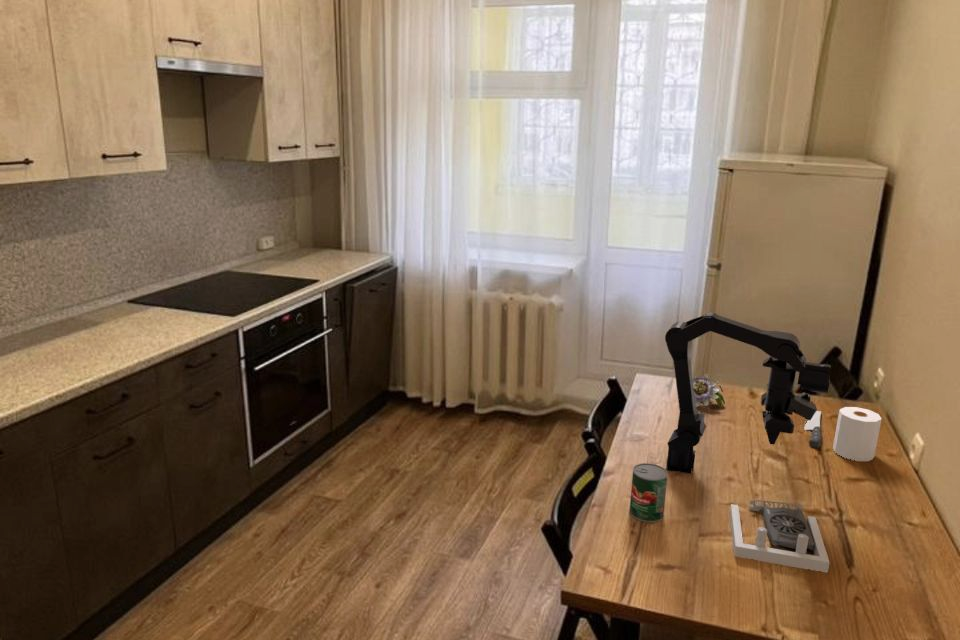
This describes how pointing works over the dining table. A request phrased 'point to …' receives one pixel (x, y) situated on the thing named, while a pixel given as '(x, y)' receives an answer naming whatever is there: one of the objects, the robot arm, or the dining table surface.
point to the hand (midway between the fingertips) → (771, 443)
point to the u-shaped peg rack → (776, 555)
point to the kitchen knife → (814, 429)
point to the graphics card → (784, 523)
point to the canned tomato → (648, 492)
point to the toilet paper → (857, 433)
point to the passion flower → (706, 391)
